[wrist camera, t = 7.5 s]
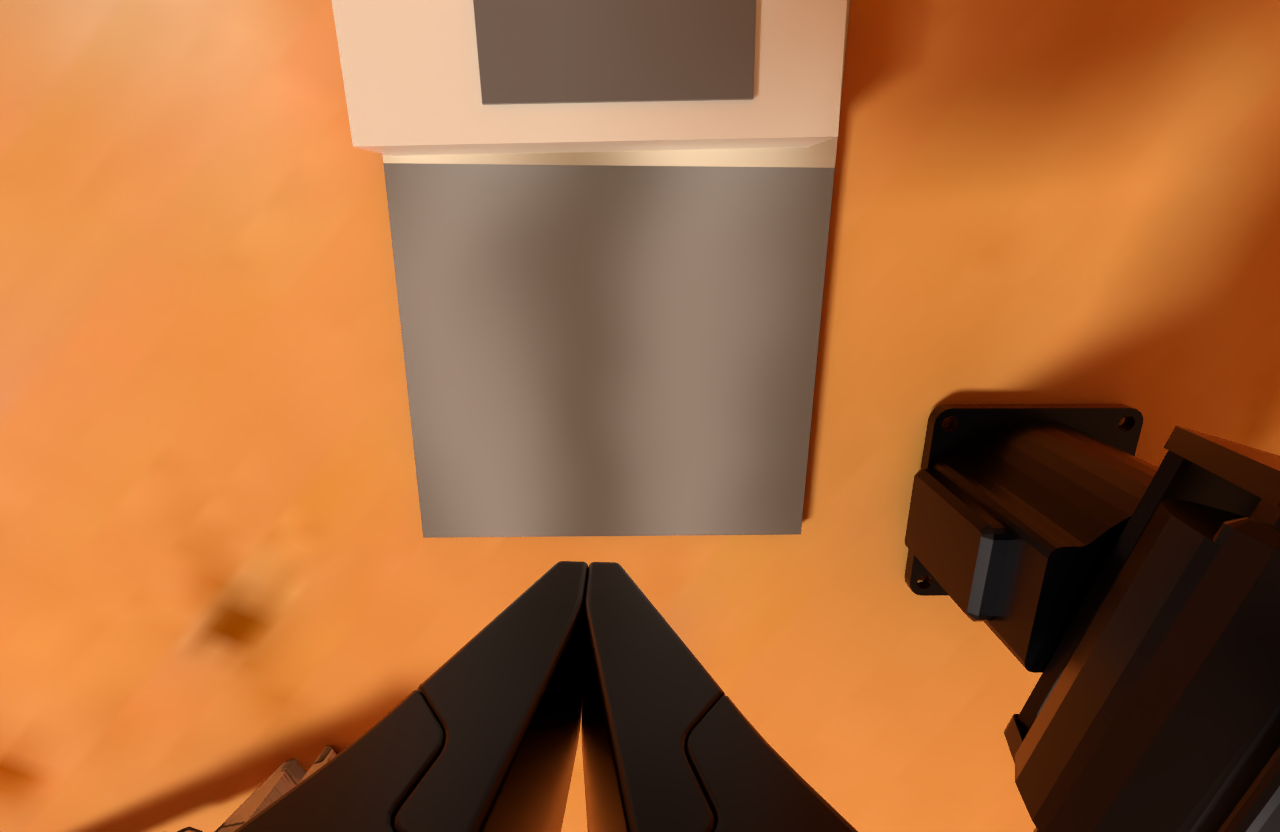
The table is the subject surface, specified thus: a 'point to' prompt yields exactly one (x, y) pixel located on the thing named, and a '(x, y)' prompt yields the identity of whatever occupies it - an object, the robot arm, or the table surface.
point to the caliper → (271, 790)
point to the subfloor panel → (611, 337)
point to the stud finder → (589, 74)
